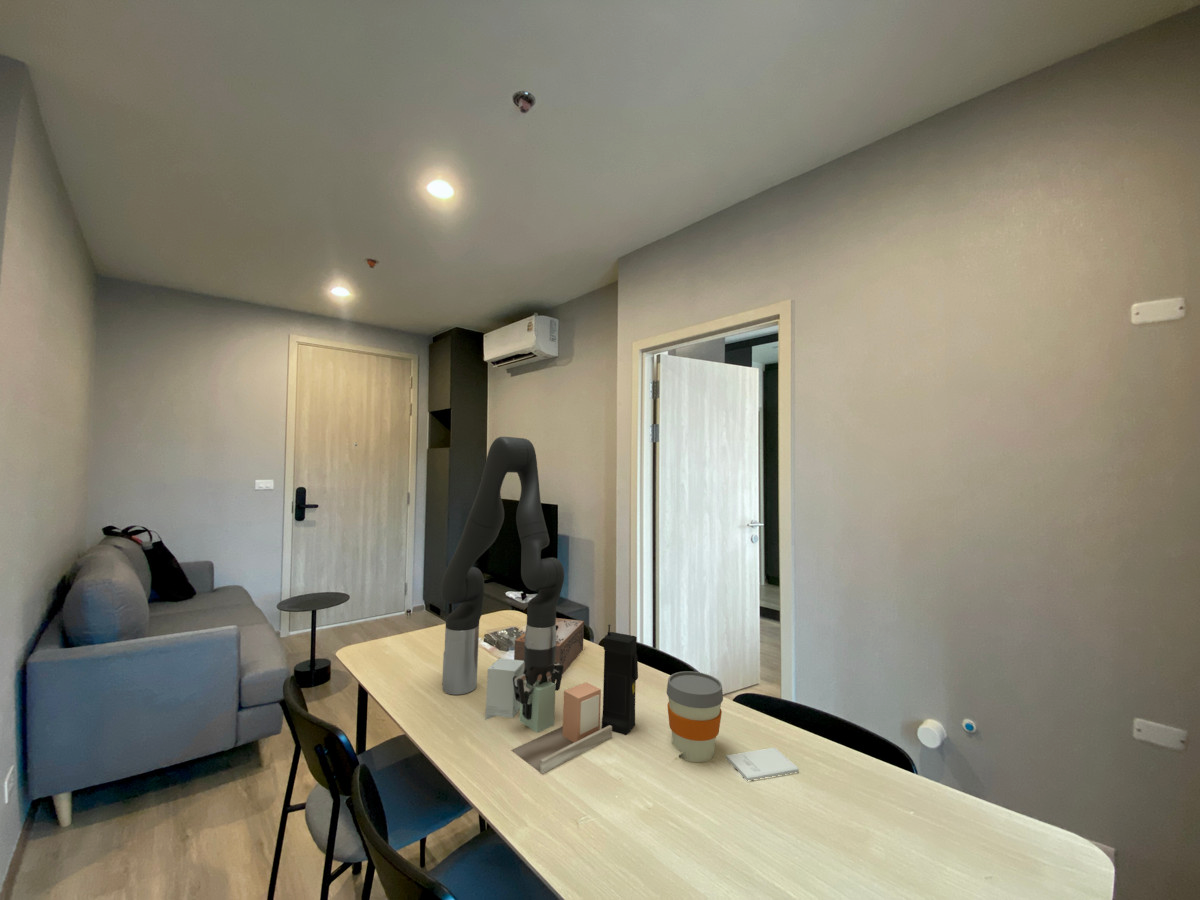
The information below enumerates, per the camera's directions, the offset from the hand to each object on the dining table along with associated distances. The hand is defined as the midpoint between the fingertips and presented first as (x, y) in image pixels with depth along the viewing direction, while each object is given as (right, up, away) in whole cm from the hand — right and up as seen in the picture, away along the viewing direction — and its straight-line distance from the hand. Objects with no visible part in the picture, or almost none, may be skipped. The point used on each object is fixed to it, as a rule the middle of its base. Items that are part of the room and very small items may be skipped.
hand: (537, 713), depth 114 cm
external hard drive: (+50, -5, -12) cm, 51 cm away
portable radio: (+20, -4, 0) cm, 20 cm away
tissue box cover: (-1, -6, +42) cm, 42 cm away
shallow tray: (+7, -3, -8) cm, 11 cm away
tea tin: (0, -3, 0) cm, 3 cm away
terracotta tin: (+11, -2, -5) cm, 12 cm away
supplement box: (-9, -4, +6) cm, 12 cm away
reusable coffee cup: (+36, -5, -7) cm, 37 cm away
